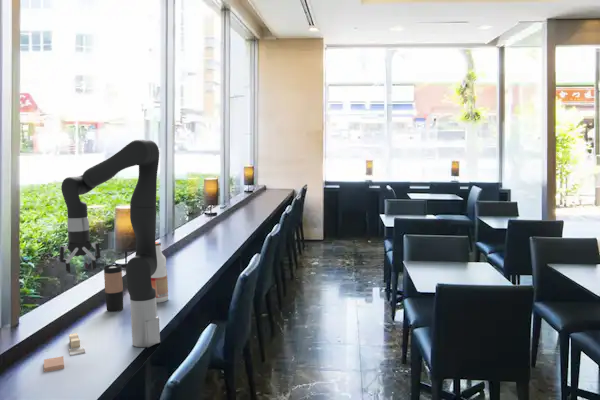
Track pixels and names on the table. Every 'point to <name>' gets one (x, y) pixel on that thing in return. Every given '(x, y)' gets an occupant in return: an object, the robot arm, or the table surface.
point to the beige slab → (75, 345)
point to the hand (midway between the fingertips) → (81, 271)
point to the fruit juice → (160, 276)
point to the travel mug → (113, 288)
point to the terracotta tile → (53, 364)
